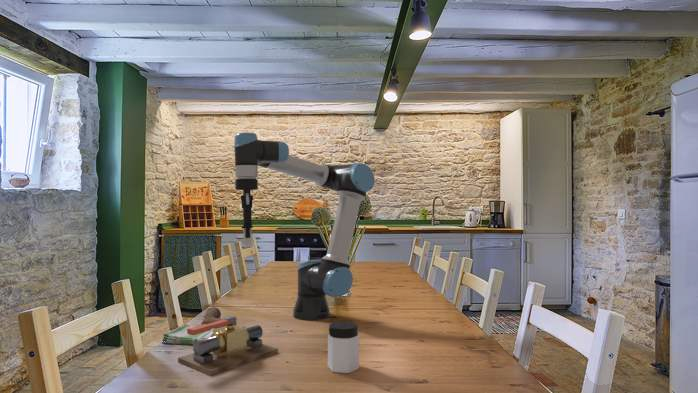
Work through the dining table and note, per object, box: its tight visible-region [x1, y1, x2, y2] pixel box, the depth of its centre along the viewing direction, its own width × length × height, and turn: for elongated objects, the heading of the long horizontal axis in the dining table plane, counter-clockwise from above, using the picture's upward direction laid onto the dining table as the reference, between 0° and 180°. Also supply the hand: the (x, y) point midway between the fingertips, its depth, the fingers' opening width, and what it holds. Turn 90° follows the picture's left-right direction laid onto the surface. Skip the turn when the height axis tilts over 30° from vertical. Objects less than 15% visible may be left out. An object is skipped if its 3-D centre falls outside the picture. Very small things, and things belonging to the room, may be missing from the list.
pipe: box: [200, 306, 237, 328], centre depth 165 cm, size 6×17×10 cm
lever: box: [187, 315, 237, 335], centre depth 126 cm, size 16×4×2 cm, turn 149°
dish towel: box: [161, 324, 216, 346], centre depth 151 cm, size 17×23×4 cm
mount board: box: [177, 343, 279, 376], centre depth 131 cm, size 24×16×1 cm, turn 142°
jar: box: [327, 321, 360, 374], centre depth 123 cm, size 9×8×12 cm
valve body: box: [192, 324, 264, 365], centre depth 131 cm, size 22×7×9 cm, turn 142°
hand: (247, 247), depth 150 cm, fingers closed
